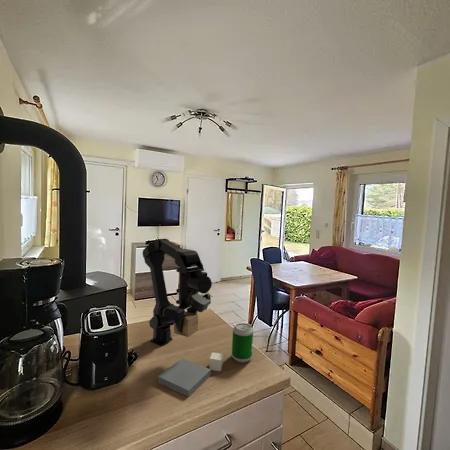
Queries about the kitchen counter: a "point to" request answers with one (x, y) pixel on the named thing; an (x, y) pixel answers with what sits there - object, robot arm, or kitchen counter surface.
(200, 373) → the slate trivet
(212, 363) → the pale stone block
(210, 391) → the kitchen counter surface
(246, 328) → the soda can
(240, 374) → the kitchen counter surface
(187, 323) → the walnut cube
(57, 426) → the kitchen counter surface
